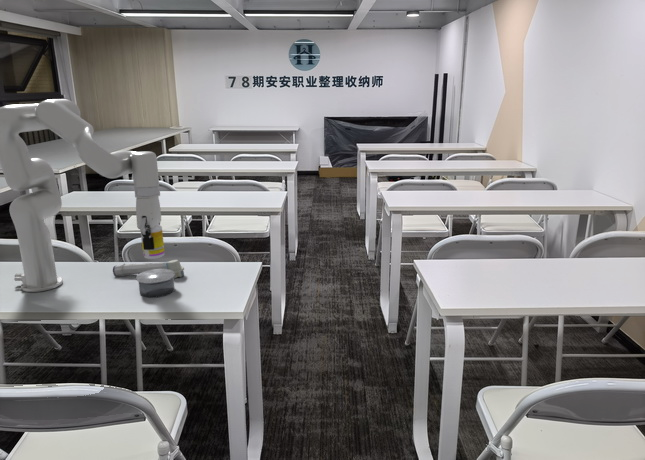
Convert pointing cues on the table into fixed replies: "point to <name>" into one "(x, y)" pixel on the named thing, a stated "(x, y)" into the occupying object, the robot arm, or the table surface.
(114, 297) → the table surface
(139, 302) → the table surface
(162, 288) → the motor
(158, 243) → the supplement bottle
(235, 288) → the table surface
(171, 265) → the light grey long piece
